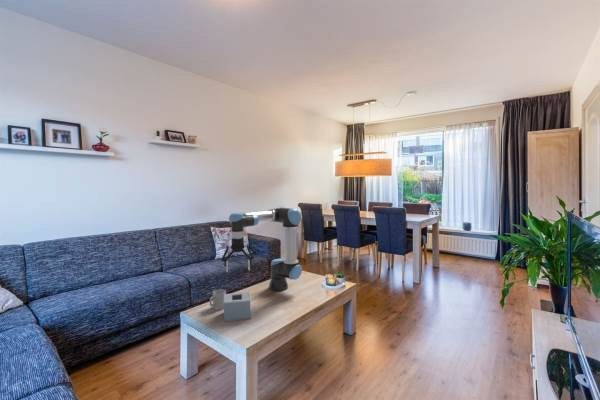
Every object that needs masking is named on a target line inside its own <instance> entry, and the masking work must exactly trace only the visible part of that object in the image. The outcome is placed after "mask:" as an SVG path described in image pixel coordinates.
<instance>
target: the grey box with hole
mask: <svg viewBox="0 0 600 400" xmlns="http://www.w3.org/2000/svg"><path fill="white" fill-rule="evenodd" d="M251 311H252V309H251V294H250V292H249V291H248V292H235V293H226V294H224V309H223V322H232V321H242V320H244V321H245V320H251V319H252V317H251Z"/></svg>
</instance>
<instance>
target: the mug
mask: <svg viewBox="0 0 600 400" xmlns="http://www.w3.org/2000/svg"><path fill="white" fill-rule="evenodd" d="M226 292H227V291H226V289H223V288H221V289H216V290H213V292H212V296H211V297H210V298H209V306H210V307H211V308H213V310H215V311H221V310H224V294H227V293H226Z"/></svg>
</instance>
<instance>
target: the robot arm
mask: <svg viewBox="0 0 600 400" xmlns="http://www.w3.org/2000/svg"><path fill="white" fill-rule="evenodd" d="M301 221H302V215H301V212H300V211H299V210H298V209H296V208H286V207H277V208H271V209H270V208H269V209H268V210H262V211H252V212H251V211H249V212H234V213H233V212H232V213H230V215H229V217H228V222H230V231H231V234H230V236H231V245H228V244H227V245H226V249H225V251H224V253H223V254H222V257H221V259H220V260H221V262H224V267H226V273H228V272H229V267H228V266H229V265H228V262H229V261H228V260H229V259H230V258H231V256H232V255H233V254H234V253H241V252H242V254H244V256H246V258H247V259H248V260H247V264H248V265H247V266H248V267H247V268H248V271H251V267H250V265H252V260H254V259H255V256H254V254H253V252H252V251H251V249H250V246H249V244H248V243H247V244H245V243H244V242H245V241H244V240H245V239H244V228H248V227H255V226H257V225H259V223H261V222H270V223H272V222H273V223H280V224H282V228H284V249H285V250H284V252H285V253H284V254H285V258H274V259H272V260H271V262H270V272H271V273H270V274H271V275H270V281H269V284H268V289H269V290H270V291H273V292H274V291H275V292H282V291H286V290H287V289H289V284H288V281H287V280H288V279H290V280H293V281H294V280H295V281H296V280H298V279H299V278H300V276H301V275H302V273H303V267H302V265H300V263H299V262H300V260H299V259H298V257H297V254H298V253H297V228H298V227H299V225H300V223H301ZM245 248H246V250H247V251H248V253H249V254H248V253H247V252H246V251H245V250H244V249H245ZM230 249H231V251H230V252H229V250H230ZM228 252H229V253H228ZM227 253H228V255H227Z"/></svg>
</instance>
